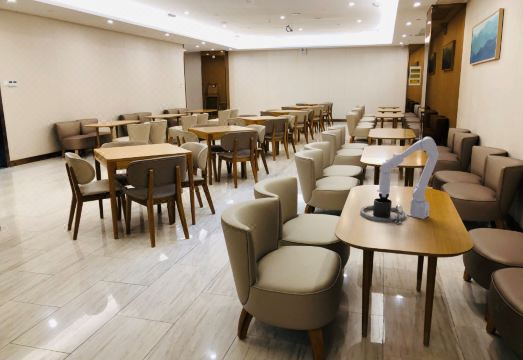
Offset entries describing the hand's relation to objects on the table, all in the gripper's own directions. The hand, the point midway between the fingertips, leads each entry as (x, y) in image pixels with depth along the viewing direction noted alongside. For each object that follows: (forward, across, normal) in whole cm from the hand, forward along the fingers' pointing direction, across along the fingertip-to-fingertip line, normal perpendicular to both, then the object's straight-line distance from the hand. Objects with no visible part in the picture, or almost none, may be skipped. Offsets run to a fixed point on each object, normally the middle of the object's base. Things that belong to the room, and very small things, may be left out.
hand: (383, 206), depth 235 cm
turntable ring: (+3, +6, 0) cm, 7 cm away
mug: (+4, +7, 0) cm, 8 cm away
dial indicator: (+3, +19, +8) cm, 21 cm away
